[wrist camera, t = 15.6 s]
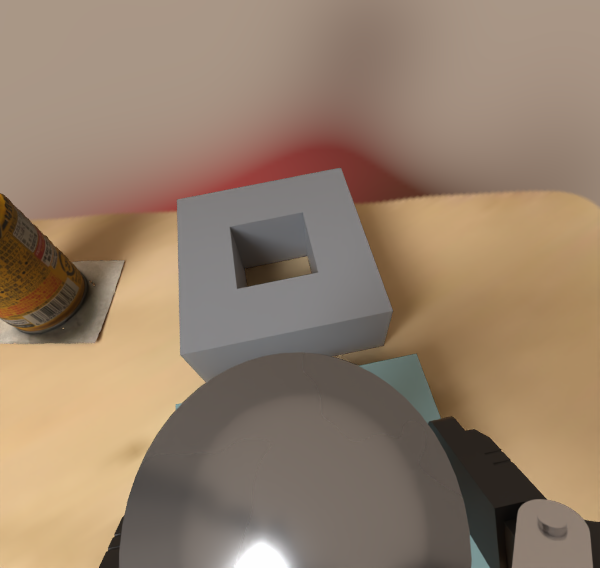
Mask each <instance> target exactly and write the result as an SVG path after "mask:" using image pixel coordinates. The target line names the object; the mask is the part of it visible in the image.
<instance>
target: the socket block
mask: <svg viewBox="0 0 600 568" xmlns="http://www.w3.org/2000/svg"><path fill="white" fill-rule="evenodd" d="M177 221H178V268H179V315H180V355H181V356H182V357H183V358H184V359H185V361H186V362H187V363H188V364H189V365H190V366H191V367H192V368H193V369H194V370H195V371H196V372H197V373H198V374H199V375H200V377H201V378H202V379H203V380H204V381H205V382H206V383H207V382H208V381H209V380H211V379H212V378H214V377H215V376H217V375H219V374H220V373H222V372H224V371H226V370H228V369H229V368H231V367H234V366H236V365H239V364H241V363H243V362H246V361H248V360H252V359H255V358H259V357H263V356H266V355H273V354H279V353H297V352H303V353H314V354H322V355H326V356H331V357H332V356H337V355H341V354H346V353H351V352H356V351H360V350H365V349H370V348H375V347H379V346H384V342H385V338H386V335H387V331H388V327H389V324H390V320H391V316H392V313H393V309H392V307H391V304H390V301H389V298H388V296H387V293H386V290H385V287H384V285H383V282H382V279H381V277H380V274H379V271H378V268H377V266H376V263H375V260H374V257H373V255H372V252H371V249H370V246H369V244H368V241H367V238H366V235H365V233H364V230H363V227H362V224H361V222H360V219H359V216H358V213H357V211H356V208H355V205H354V202H353V200H352V197H351V194H350V192H349V189H348V186H347V183H346V181H345V178H344V175H343V172H342V170H341V168H337V169H332V170H327V171H322V172H317V173H311V174H306V175H301V176H296V177H291V178H286V179H281V180H275V181H270V182H266V183H260V184H255V185H250V186H245V187H239V188H234V189H229V190H224V191H219V192H214V193H209V194H204V195H199V196H194V197H188V198H183V199H178V200H177ZM304 256H308V260H309V264H310V268H311V272H312V274H308V275H303V276H299V277H294V278H289V279H284V280H279V281H274V282H269V283H264V284H259V285H254V286H249V287H247V282H246V274H245V268H250V267H255V266H260V265H265V264H270V263H275V262H280V261H284V260H289V259H294V258H299V257H304Z"/></svg>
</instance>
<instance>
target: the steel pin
mask: <svg viewBox="0 0 600 568" xmlns="http://www.w3.org/2000/svg"><path fill="white" fill-rule="evenodd" d="M471 562H472V557H471V544H470V531H469V525H468V520H467V515H466V509H465V504H464V500H463V497H462V494H461V491H460V487H459V484H458V481H457V478H456V475H455V473H454V470H453V468H452V466H451V464H450V461H449V459H448V457H447V454H446V452H445V451H444V449H443V447H442V445H441V444H440V442H439V440H438V439H437V437H436V435H435V433H434V432H433V430H432V429H431V428H430V426H429V425H428V424H427V422H426V421H425V420H424V418H423V417H422V415H421V414H420V413H419V412H418V411H417V410H416V409H415V408H414V407H413V405H412V404H411V403H410V402H409V401H408V400H407V399H406V398H405V397H404V396H403V395H401V394H400V393H399V392H398V391H397V390H396V389H394V388H393V387H392V386H391V385H390V384H388V383H387V382H385V381H384V380H382V379H381V378H379V377H378V376H376V375H375V374H373V373H371V372H369V371H367V370H365V369H363V368H361V367H360V366H358V365H356V364H353V363H350V362H347V361H344V360H342V359H339V358H335V357H331V356H326V355H322V354H314V353H303V352H297V353H279V354H273V355H266V356H263V357H259V358H255V359H252V360H248V361H246V362H243V363H241V364H239V365H236V366H234V367H231V368H229V369H228V370H226V371H224V372H222V373H220V374H219V375H217V376H215V377H214V378H212V379H211V380H209V381H208V382H207V383H205V384H204V385H202V386H201V387H200V388H198V389H197V390H196V391H195V392H194V393H193V394H192V395H190V396H189V397H188V398H187V399H186V400H185V401H184V402H183V403H182V404H181V405H180V406H179V407H178V408H177V410H176V411H175V412H174V413H173V414H172V415H171V416H170V417H169V419H168V420H167V421H166V423H165V424H164V426H163V427H162V428H161V430H160V431H159V433H158V434H157V435H156V437H155V439H154V441H153V442H152V444H151V446H150V448H149V449H148V451H147V453H146V454H145V457H144V459H143V461H142V463H141V466H140V468H139V470H138V472H137V475H136V477H135V480H134V483H133V486H132V489H131V492H130V495H129V498H128V502H127V506H126V511H125V515H124V520H123V524H122V532H121V541H120V550H119V568H471Z"/></svg>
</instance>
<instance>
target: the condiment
mask: <svg viewBox="0 0 600 568" xmlns="http://www.w3.org/2000/svg"><path fill="white" fill-rule="evenodd" d="M123 264H124V260H122V261H118V260H112V261H103V260H100V261H77V262H71V261H69V259H68V258H67V257H66V256H65V255H64V254H63V253H62V252H61V251H60V250H59V249H58V248H57V247H55V246H54V245H53V243H52V242H51V241H50V240H49V239H48V237H47V236H45V235H43V234H42V233H41V232H40V231H39V229H38V228H37V227H36V226H35V225H33V224H32V223H31V222H30V220H29V219H28V218H27V217H25V215H24V214H23V213H22V212H21V211H20V210H18V209H17V208H16V207H15V206H14V205H13V204H12V203H11V201H10V200H9V199H8V198H7V197H5V195H3V194H1V193H0V343H4V344H13V343H16V344H29V343H30V344H38V343H41V344H44V343H68V344H70V343H95V342H96V340H97V337H98V334H99V332H100V331H101V328H102V325H103V322H104V320H105V316H106V314H107V312H108V309H109V306H110V303H111V300H112V297H113V295H114V293H115V289H116V285H117V282H118V279H119V277H120V274H121V270H122V267H123ZM89 281H92V283H94V284H95V286H93V285H92V283H90V282H89ZM62 328H64V329H62Z"/></svg>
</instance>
